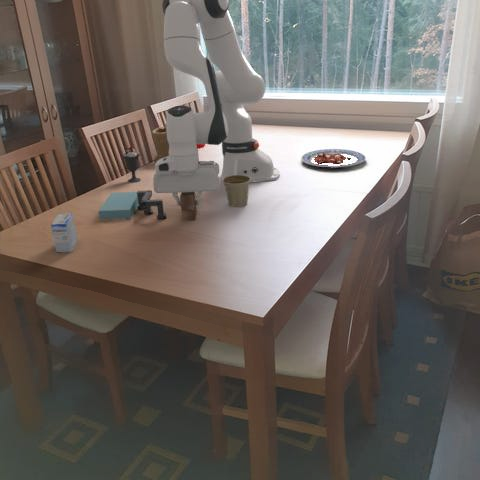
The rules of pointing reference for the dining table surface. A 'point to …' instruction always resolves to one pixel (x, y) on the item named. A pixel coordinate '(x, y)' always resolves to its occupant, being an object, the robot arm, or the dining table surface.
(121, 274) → the dining table surface
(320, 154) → the ceramic plate
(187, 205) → the walnut block
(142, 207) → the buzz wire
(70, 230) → the medicine box
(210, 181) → the robot arm
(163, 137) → the tan hollow bent piece
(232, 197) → the flower pot
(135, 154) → the sundae
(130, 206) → the platform
